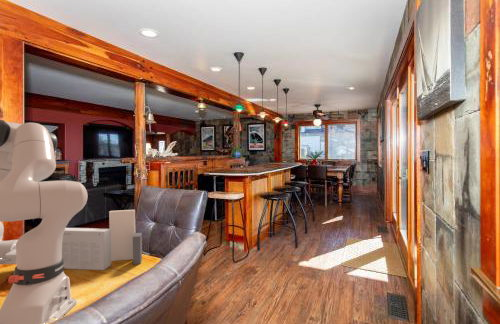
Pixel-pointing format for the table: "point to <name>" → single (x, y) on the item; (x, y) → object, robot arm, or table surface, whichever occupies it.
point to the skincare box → (86, 248)
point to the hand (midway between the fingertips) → (52, 248)
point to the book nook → (124, 236)
